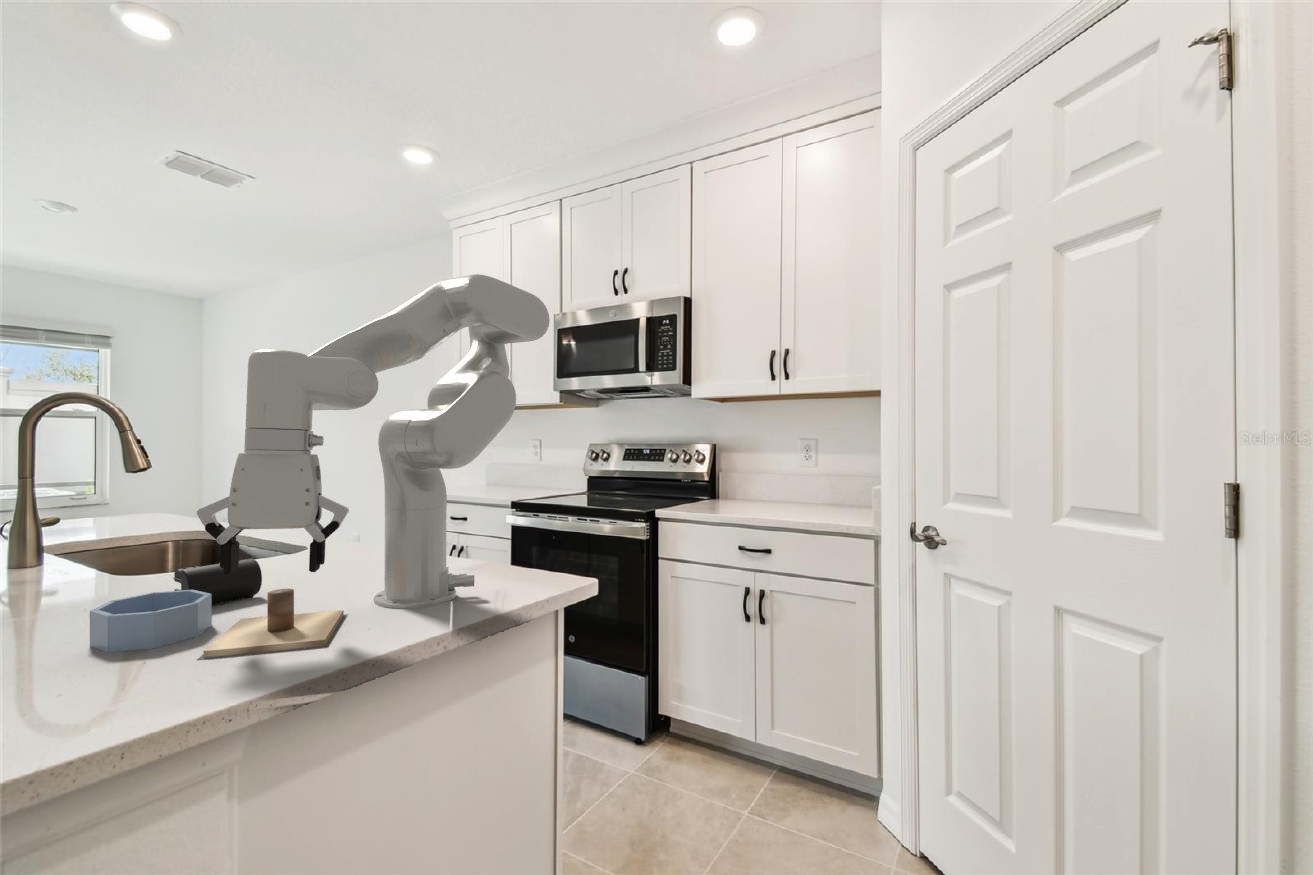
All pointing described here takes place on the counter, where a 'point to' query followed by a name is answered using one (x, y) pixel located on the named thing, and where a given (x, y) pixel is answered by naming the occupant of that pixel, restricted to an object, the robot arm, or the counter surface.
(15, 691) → the counter surface
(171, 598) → the bowl
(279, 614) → the lid
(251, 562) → the end cap
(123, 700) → the counter surface
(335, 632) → the mat
